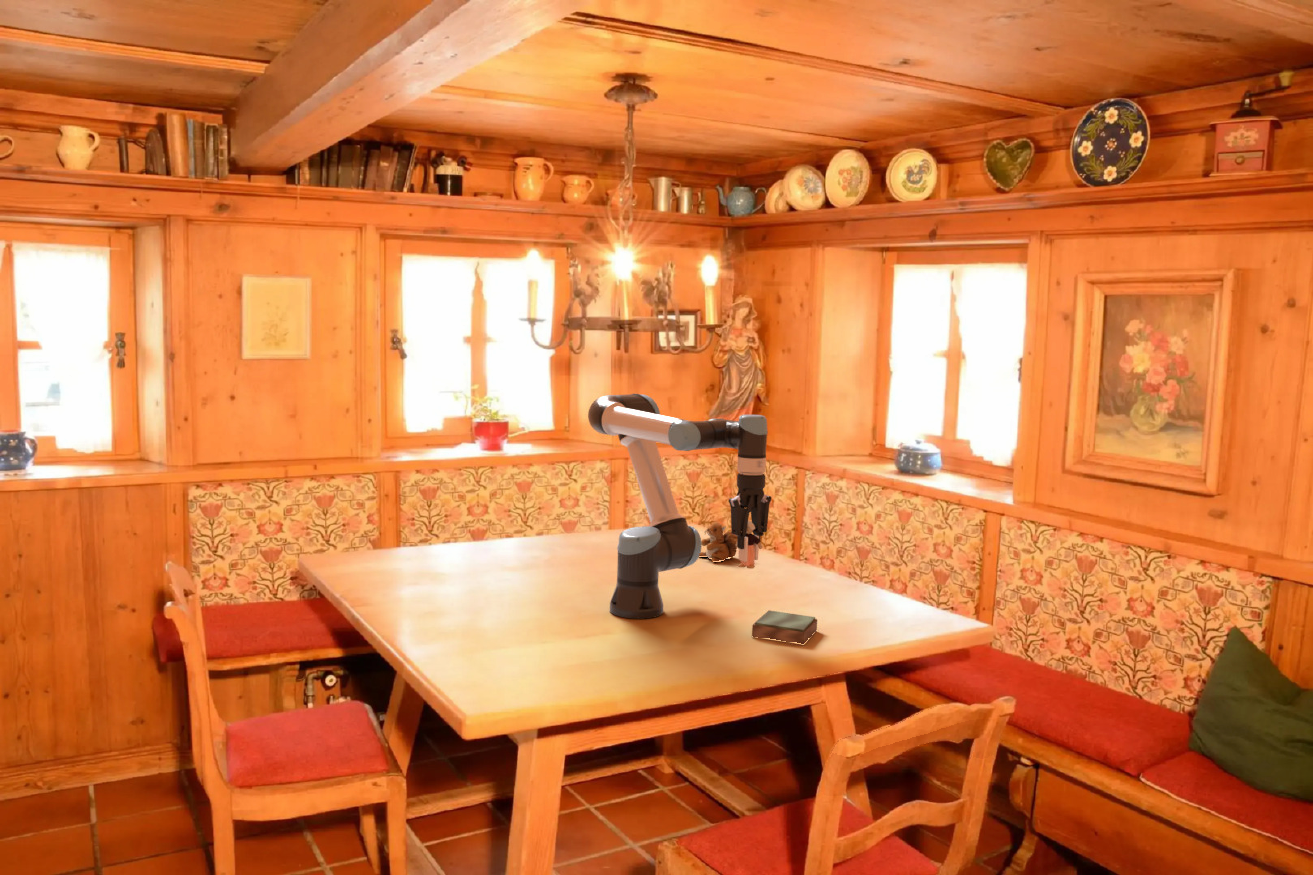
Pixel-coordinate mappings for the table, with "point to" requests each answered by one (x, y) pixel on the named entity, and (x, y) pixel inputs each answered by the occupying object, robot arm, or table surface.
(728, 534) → the stuffed squirrel
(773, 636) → the sage green square panel
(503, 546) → the table surface
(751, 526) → the grandmother figurine
